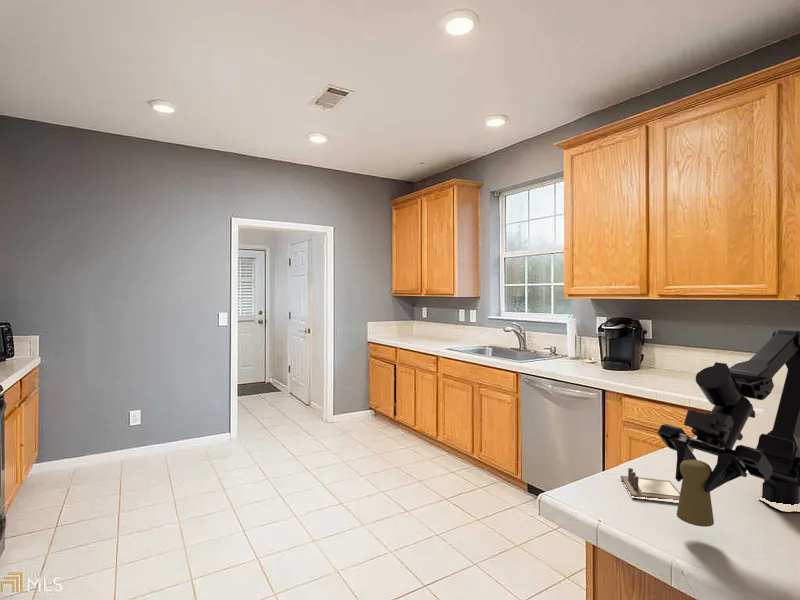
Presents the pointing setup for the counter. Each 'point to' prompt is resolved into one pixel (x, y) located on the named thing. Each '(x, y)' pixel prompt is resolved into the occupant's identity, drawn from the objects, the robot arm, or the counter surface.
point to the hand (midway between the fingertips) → (691, 485)
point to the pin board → (649, 487)
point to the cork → (695, 494)
